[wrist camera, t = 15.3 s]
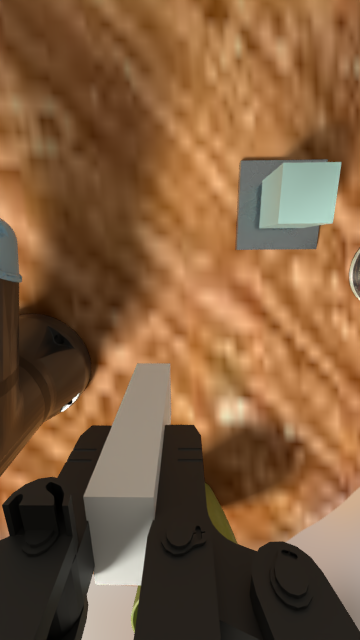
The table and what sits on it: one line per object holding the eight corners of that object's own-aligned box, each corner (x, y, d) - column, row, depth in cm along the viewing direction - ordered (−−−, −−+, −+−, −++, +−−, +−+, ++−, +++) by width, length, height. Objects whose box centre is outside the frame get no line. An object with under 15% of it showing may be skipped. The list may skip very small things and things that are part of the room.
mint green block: (259, 228, 31) (278, 223, 25) (262, 180, 30) (283, 162, 24) (302, 227, 31) (332, 223, 25) (308, 180, 30) (341, 161, 23)
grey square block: (235, 249, 34) (249, 250, 26) (239, 162, 31) (257, 136, 24) (313, 248, 34) (350, 249, 26) (324, 161, 31) (369, 134, 23)
